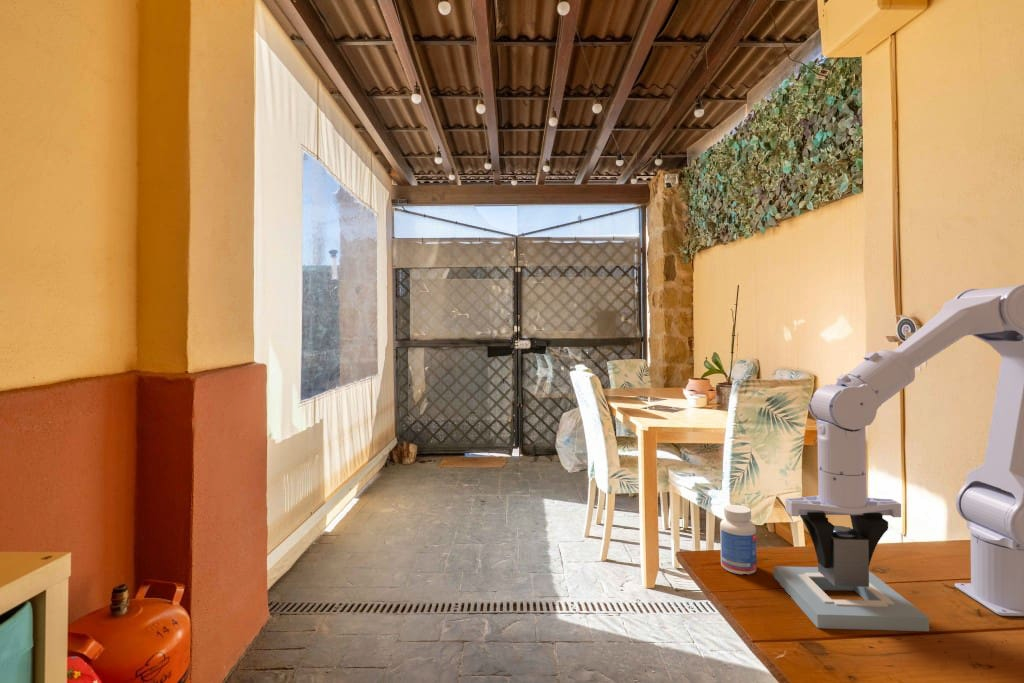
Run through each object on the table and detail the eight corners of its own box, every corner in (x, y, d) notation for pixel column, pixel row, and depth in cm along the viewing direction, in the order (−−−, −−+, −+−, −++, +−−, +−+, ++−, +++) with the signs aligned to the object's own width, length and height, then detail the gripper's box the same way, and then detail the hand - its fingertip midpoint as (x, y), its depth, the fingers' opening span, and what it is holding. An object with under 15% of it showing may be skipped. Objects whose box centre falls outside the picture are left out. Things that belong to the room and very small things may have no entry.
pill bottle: (761, 576, 79) (759, 515, 79) (724, 574, 81) (723, 513, 80) (751, 561, 85) (750, 503, 85) (717, 559, 86) (716, 502, 86)
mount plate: (865, 579, 78) (865, 566, 78) (929, 631, 64) (928, 615, 64) (774, 577, 79) (773, 565, 79) (817, 628, 66) (817, 612, 66)
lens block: (850, 571, 74) (849, 524, 74) (869, 586, 69) (868, 537, 69) (818, 570, 74) (817, 524, 74) (834, 586, 70) (833, 536, 70)
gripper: (878, 462, 75) (879, 553, 75) (775, 462, 76) (777, 552, 76) (911, 476, 68) (912, 576, 68) (797, 476, 69) (799, 574, 69)
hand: (842, 565), depth 72 cm, fingers closed on lens block, 4 cm apart
